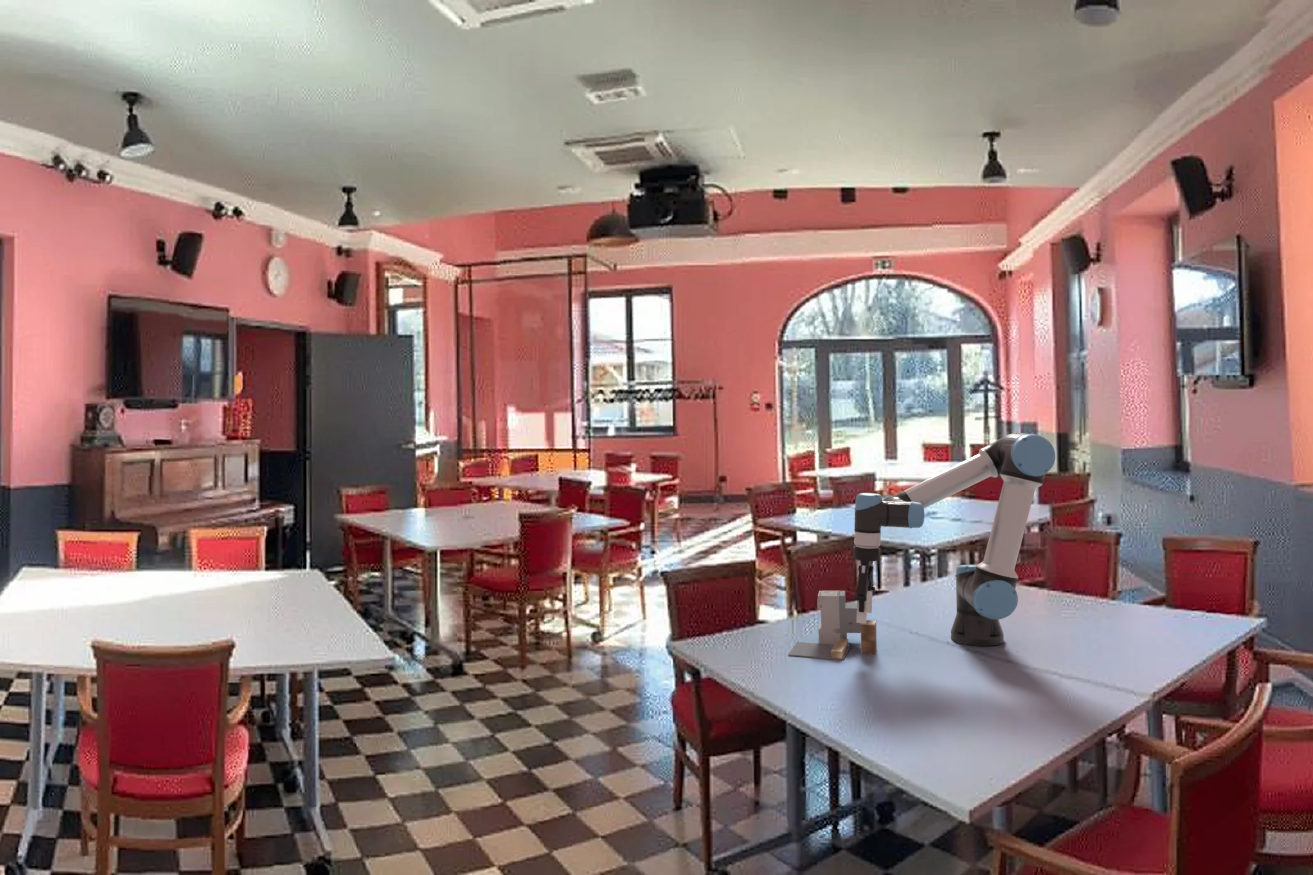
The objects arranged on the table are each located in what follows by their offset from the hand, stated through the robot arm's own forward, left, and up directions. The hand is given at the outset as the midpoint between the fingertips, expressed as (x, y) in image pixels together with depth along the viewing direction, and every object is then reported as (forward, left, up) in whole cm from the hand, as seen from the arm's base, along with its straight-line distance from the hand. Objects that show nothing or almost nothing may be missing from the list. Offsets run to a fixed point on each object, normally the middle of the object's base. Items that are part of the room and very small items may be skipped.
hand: (864, 618), depth 248 cm
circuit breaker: (+8, -9, -10) cm, 16 cm away
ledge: (+7, +3, -10) cm, 12 cm away
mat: (+13, +3, -10) cm, 17 cm away
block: (-1, 0, -10) cm, 10 cm away
